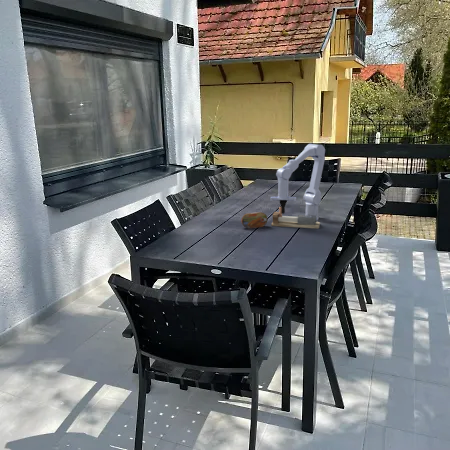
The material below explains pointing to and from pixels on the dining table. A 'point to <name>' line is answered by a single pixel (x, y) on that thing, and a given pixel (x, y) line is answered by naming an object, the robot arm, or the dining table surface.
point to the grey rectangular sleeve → (306, 219)
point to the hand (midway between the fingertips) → (283, 213)
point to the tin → (254, 220)
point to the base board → (295, 225)
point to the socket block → (275, 218)
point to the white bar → (286, 217)
